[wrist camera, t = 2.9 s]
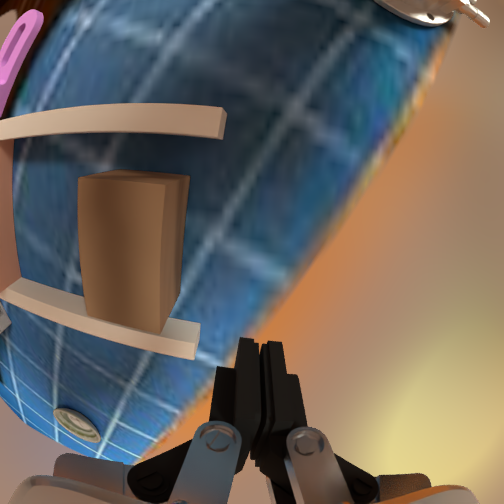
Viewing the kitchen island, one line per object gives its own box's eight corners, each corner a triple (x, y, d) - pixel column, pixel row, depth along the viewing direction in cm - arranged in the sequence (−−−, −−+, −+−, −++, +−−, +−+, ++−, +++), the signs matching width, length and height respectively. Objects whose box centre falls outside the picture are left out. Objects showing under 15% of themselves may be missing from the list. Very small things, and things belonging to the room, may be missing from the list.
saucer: (78, 429, 35) (74, 438, 33) (49, 397, 32) (43, 406, 30) (114, 437, 34) (110, 447, 32) (83, 403, 31) (77, 414, 29)
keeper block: (190, 175, 20) (165, 184, 14) (180, 292, 23) (160, 334, 17) (120, 169, 19) (78, 177, 14) (118, 280, 23) (87, 315, 17)
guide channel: (227, 114, 18) (218, 101, 13) (199, 339, 25) (189, 376, 20) (2, 123, 17) (-29, 125, 12) (11, 286, 24) (-12, 304, 19)
